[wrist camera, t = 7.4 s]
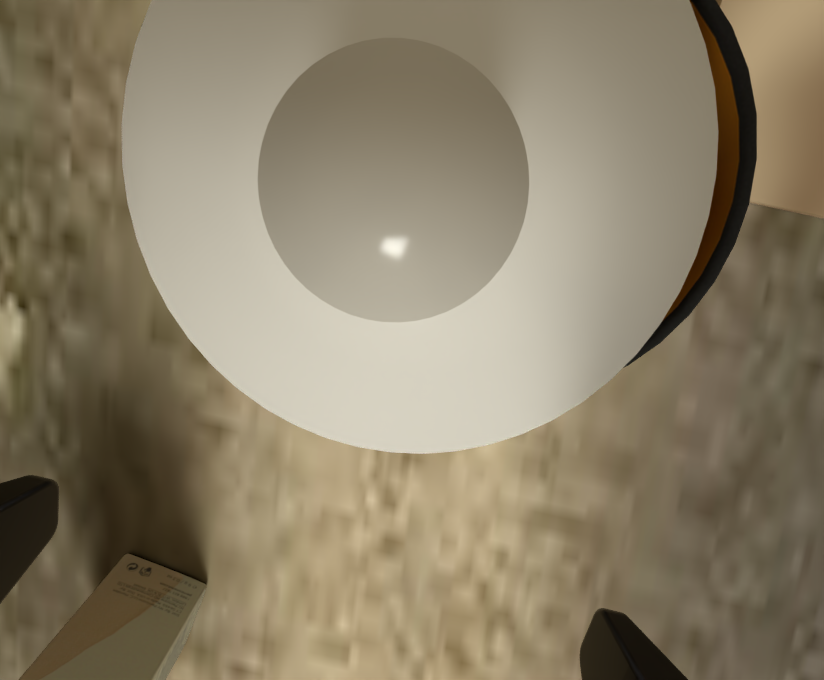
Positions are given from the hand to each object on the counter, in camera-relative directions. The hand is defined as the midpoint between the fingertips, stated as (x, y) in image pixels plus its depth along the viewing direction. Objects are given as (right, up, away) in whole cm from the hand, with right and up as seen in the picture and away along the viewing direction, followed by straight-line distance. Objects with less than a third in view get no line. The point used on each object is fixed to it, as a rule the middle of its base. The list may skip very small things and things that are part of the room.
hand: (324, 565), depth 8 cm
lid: (+1, +6, +1) cm, 7 cm away
